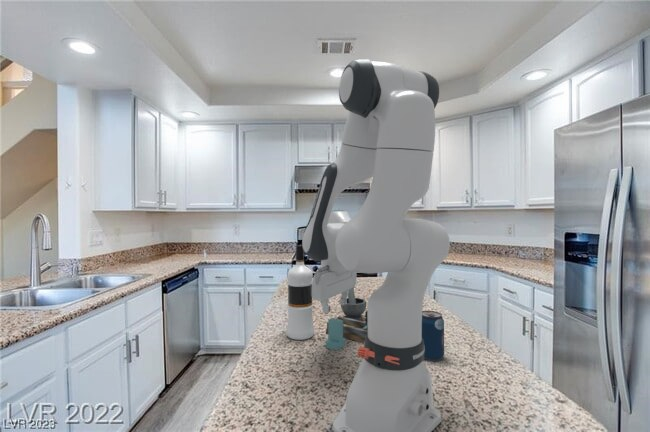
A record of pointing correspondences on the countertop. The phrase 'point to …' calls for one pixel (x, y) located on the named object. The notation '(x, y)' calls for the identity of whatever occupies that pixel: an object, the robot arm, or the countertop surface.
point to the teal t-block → (335, 334)
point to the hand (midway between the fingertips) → (335, 308)
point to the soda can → (433, 335)
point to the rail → (354, 328)
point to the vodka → (300, 299)
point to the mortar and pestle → (354, 306)
